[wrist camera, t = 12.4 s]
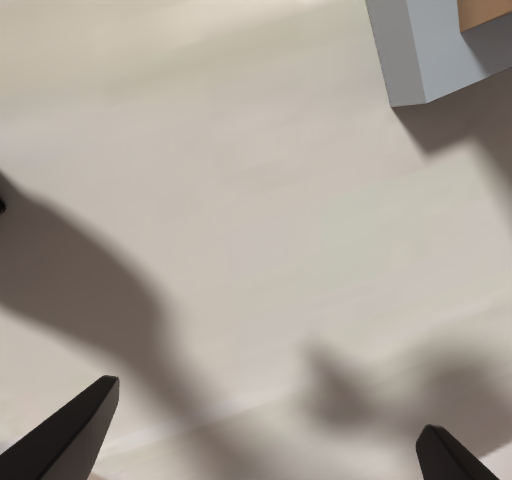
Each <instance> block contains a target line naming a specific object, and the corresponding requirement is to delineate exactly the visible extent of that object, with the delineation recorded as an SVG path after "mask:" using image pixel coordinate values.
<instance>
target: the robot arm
mask: <svg viewBox="0 0 512 480" xmlns="http://www.w3.org/2000/svg"><path fill="white" fill-rule="evenodd" d="M4 211H5V205H4V203H3V202H2V200H1V199H0V214H1V213H3V212H4ZM118 401H119V378H118V377H115V376H109V375H104V376H102V377H101V378H99V379H98V380H97V381H95V382H94V383H93V384H91V385H90V386H89V387H88V388H86V389H85V390H84V391H82V392H81V393H80V394H79V395H77V396H76V397H75V398H73V399H72V400H71V401H69V402H68V403H67V404H66V405H64V406H63V407H62V408H60V409H59V410H58V411H57V412H55V413H54V414H53V415H51V416H50V417H49V418H47V419H46V420H45V421H44V422H42V423H41V424H40V425H38V426H37V427H36V428H35V429H33V430H32V431H31V432H29V433H28V434H27V435H25V436H24V437H23V438H22V439H20V440H19V441H18V442H16V443H15V444H14V445H13V446H11V447H10V448H9V449H7V450H6V451H5V452H3V453H2V454H1V455H0V480H87V478H88V476H89V474H90V472H91V470H92V468H93V465H94V463H95V461H96V458H97V456H98V453H99V451H100V448H101V446H102V443H103V441H104V438H105V435H106V433H107V430H108V428H109V425H110V423H111V420H112V418H113V415H114V413H115V410H116V408H117V405H118ZM416 452H417V456H418V460H419V463H420V467H421V471H422V474H423V478H424V480H499V479H498V478H497V477H496V476H495V475H494V474H493V473H492V472H491V471H490V470H489V469H488V468H487V467H485V466H484V465H483V464H482V463H481V462H480V461H479V460H478V459H477V458H476V457H475V456H474V455H473V454H472V453H470V452H469V451H468V450H467V449H466V448H465V447H464V446H463V445H462V444H461V443H460V442H459V441H458V440H457V439H455V438H454V437H453V436H452V435H451V434H450V433H449V432H448V431H447V430H446V429H445V428H443V427H442V426H438V425H432V424H428V425H426V426H425V427H424V429H423V431H422V433H421V434H420V436H419V438H418V439H417V441H416Z"/></svg>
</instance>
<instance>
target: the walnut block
mask: <svg viewBox="0 0 512 480" xmlns="http://www.w3.org/2000/svg"><path fill="white" fill-rule="evenodd" d="M457 6H458V17H459V28H460V33H461V32H463V31H466V30H468V29H471V28H474V27H476V26H479V25H481V24H484V23H486V22H489V21H492V20H494V19H497V18H499V17H502V16H504V15H507V14H510V13H512V0H457Z"/></svg>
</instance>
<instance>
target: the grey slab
mask: <svg viewBox="0 0 512 480" xmlns="http://www.w3.org/2000/svg"><path fill="white" fill-rule="evenodd" d="M366 5H367V9H368V13H369V17H370V21H371V26H372V30H373V34H374V38H375V42H376V47H377V51H378V55H379V59H380V63H381V68H382V72H383V76H384V80H385V85H386V89H387V93H388V97H389V101H390V106H391V107H397V106H406V105H416V104H425V103H429V102H431V101H433V100H436V99H438V98H440V97H443V96H445V95H447V94H450V93H452V92H454V91H457V90H459V89H461V88H464V87H466V86H468V85H471V84H473V83H475V82H478V81H480V80H482V79H485V78H487V77H489V76H492V75H494V74H497V73H499V72H501V71H504V70H506V69H508V68H511V67H512V13H510V14H507V15H504V16H502V17H499V18H497V19H494V20H492V21H489V22H486V23H484V24H481V25H479V26H476V27H474V28H471V29H468V30H466V31H463V32H461V33H460V28H459V17H458V6H457V0H366Z"/></svg>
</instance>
